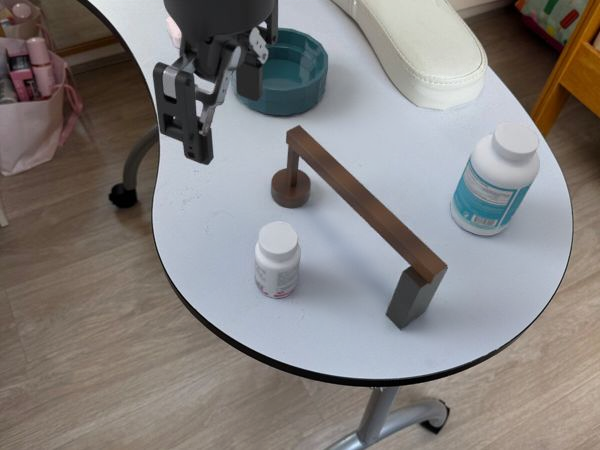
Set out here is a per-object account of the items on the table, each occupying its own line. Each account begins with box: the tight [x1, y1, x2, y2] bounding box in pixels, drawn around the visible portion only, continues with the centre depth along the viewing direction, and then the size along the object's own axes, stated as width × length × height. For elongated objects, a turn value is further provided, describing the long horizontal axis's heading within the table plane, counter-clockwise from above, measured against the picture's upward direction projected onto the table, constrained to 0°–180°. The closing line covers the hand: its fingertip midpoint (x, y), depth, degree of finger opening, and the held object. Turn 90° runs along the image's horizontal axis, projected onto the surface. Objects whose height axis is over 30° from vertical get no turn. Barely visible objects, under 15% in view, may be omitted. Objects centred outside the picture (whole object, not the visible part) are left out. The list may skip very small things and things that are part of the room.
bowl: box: [230, 27, 329, 116], centre depth 82 cm, size 13×13×5 cm
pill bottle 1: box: [254, 220, 302, 299], centre depth 62 cm, size 5×5×8 cm
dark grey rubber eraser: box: [385, 265, 449, 331], centre depth 60 cm, size 2×4×9 cm, turn 128°
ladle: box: [270, 124, 449, 285], centre depth 64 cm, size 24×5×11 cm, turn 38°
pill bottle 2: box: [450, 121, 541, 236], centre depth 67 cm, size 8×7×14 cm
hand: (226, 126), depth 50 cm, fingers open, 8 cm apart
